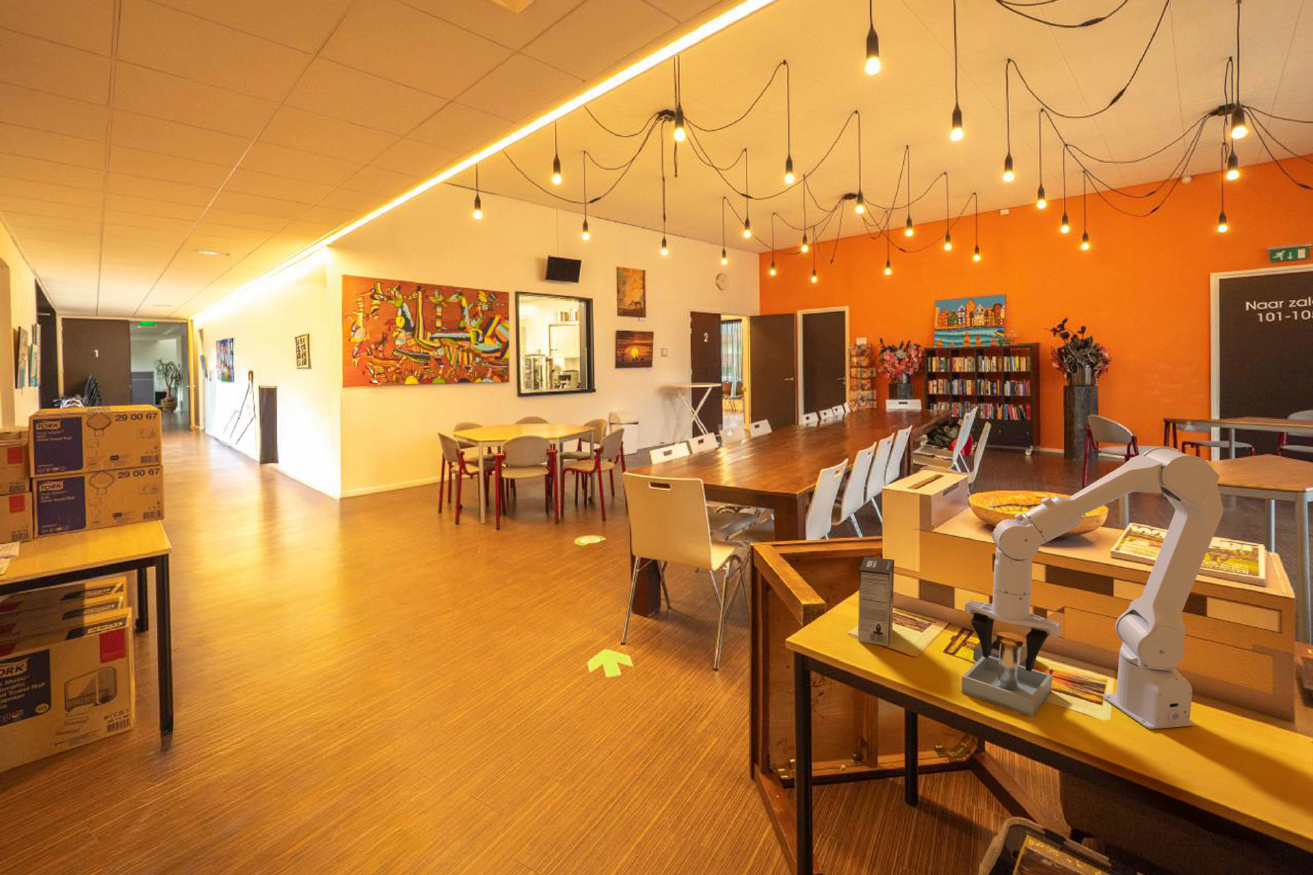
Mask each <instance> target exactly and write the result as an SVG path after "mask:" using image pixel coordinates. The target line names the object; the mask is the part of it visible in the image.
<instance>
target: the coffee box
mask: <svg viewBox="0 0 1313 875" xmlns="http://www.w3.org/2000/svg"><path fill="white" fill-rule="evenodd" d="M858 570H859V571H858V572H859V574H858V575H859V576H858V577H859V578H858V580H859V581H858V619H857V620H858V624H857V625H858V626H857V629H858V630H857V638H858V639H857V640H858V642H859V643H867V644H872V645H873V644H874V645H880V646H884V647H889V646H888V645H890V643H891V642H890V641H891V637H892V633H893V623H894V621H893V619H894V615H893V614H894V611H893V610H894V585H895V583H894V580H895V575H894V573H895V559H890V558H881V557H871V556H870V557H869V556H864V557H863V560H862V562H861V565H860V568H859V569H858Z"/></svg>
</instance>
